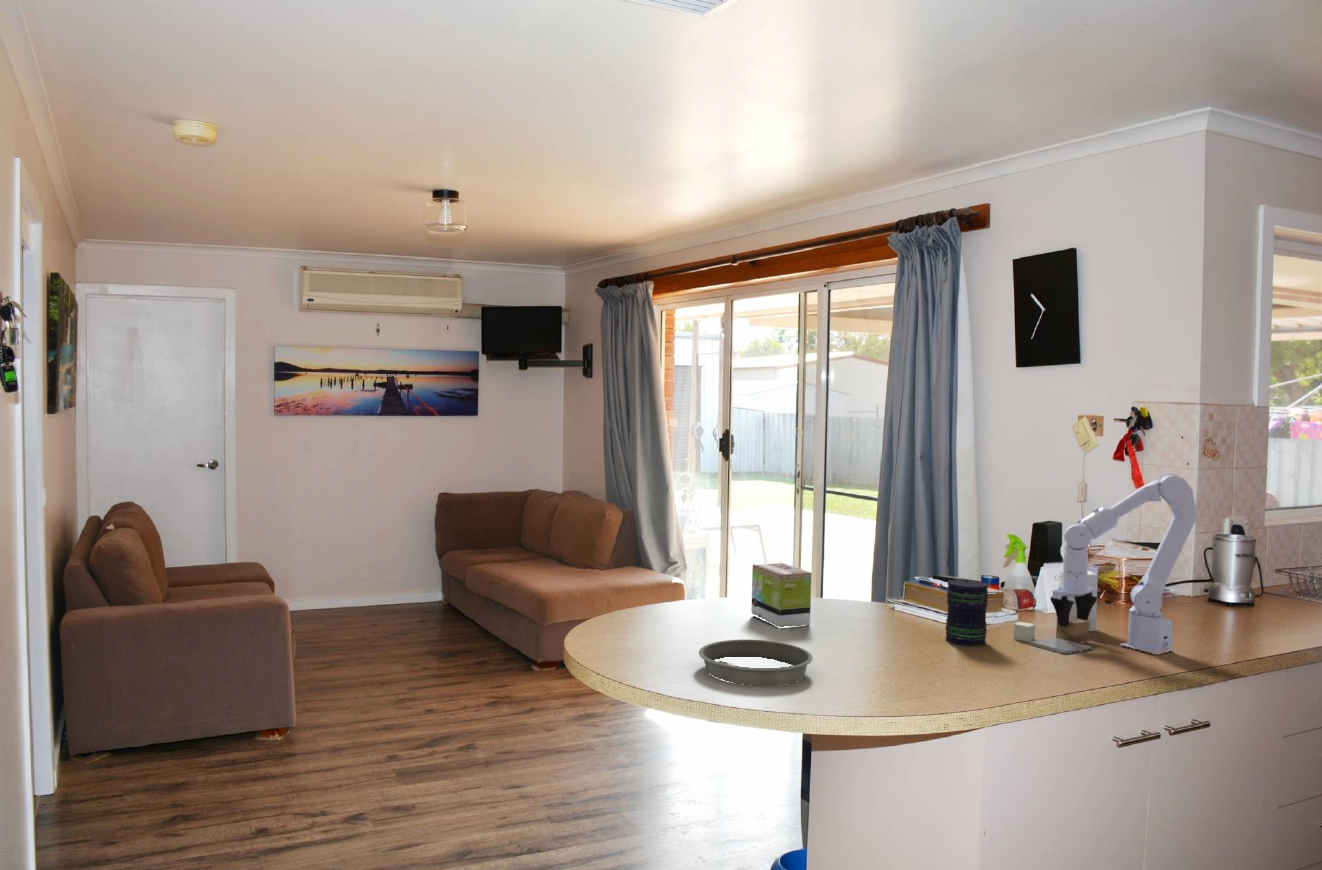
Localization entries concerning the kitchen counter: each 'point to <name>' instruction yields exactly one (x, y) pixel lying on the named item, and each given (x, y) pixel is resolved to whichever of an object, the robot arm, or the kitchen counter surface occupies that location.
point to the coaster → (1059, 645)
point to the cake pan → (756, 649)
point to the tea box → (781, 594)
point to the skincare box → (1092, 583)
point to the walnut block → (1074, 630)
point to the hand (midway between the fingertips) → (1072, 624)
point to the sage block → (1024, 631)
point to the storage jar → (966, 612)
